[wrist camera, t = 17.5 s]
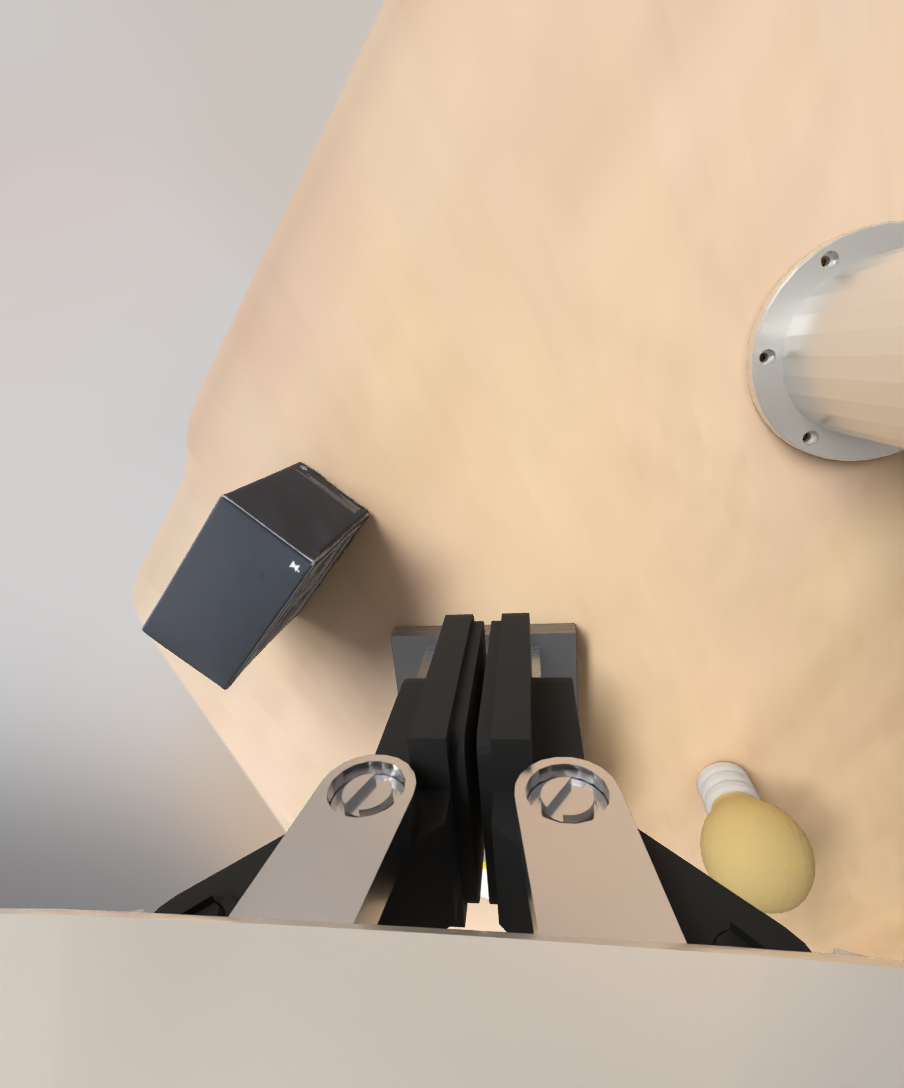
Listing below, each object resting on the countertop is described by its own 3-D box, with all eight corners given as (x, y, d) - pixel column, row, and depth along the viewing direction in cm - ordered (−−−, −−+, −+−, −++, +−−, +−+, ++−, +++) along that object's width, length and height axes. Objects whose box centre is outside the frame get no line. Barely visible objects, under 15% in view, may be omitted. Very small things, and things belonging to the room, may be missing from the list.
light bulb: (754, 817, 43) (818, 945, 34) (668, 805, 44) (707, 928, 34) (774, 747, 41) (849, 863, 32) (684, 736, 42) (730, 846, 32)
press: (574, 623, 40) (588, 699, 31) (579, 865, 47) (591, 985, 38) (395, 627, 42) (359, 700, 33) (424, 859, 48) (401, 972, 40)
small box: (296, 454, 39) (217, 487, 29) (373, 511, 39) (321, 563, 29) (225, 567, 42) (132, 630, 32) (297, 617, 43) (227, 696, 33)
